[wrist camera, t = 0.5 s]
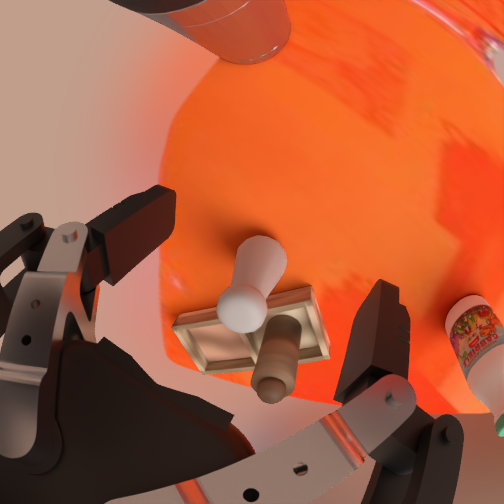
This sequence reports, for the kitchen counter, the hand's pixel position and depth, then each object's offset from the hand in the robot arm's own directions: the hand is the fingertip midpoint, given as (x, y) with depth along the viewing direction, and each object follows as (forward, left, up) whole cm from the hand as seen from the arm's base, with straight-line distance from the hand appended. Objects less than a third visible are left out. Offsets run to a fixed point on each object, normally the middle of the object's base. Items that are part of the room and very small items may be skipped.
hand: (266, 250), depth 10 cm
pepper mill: (+19, -8, -21) cm, 30 cm away
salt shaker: (+8, -7, -22) cm, 25 cm away
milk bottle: (+26, +18, -22) cm, 39 cm away
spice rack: (+19, -13, -22) cm, 32 cm away
